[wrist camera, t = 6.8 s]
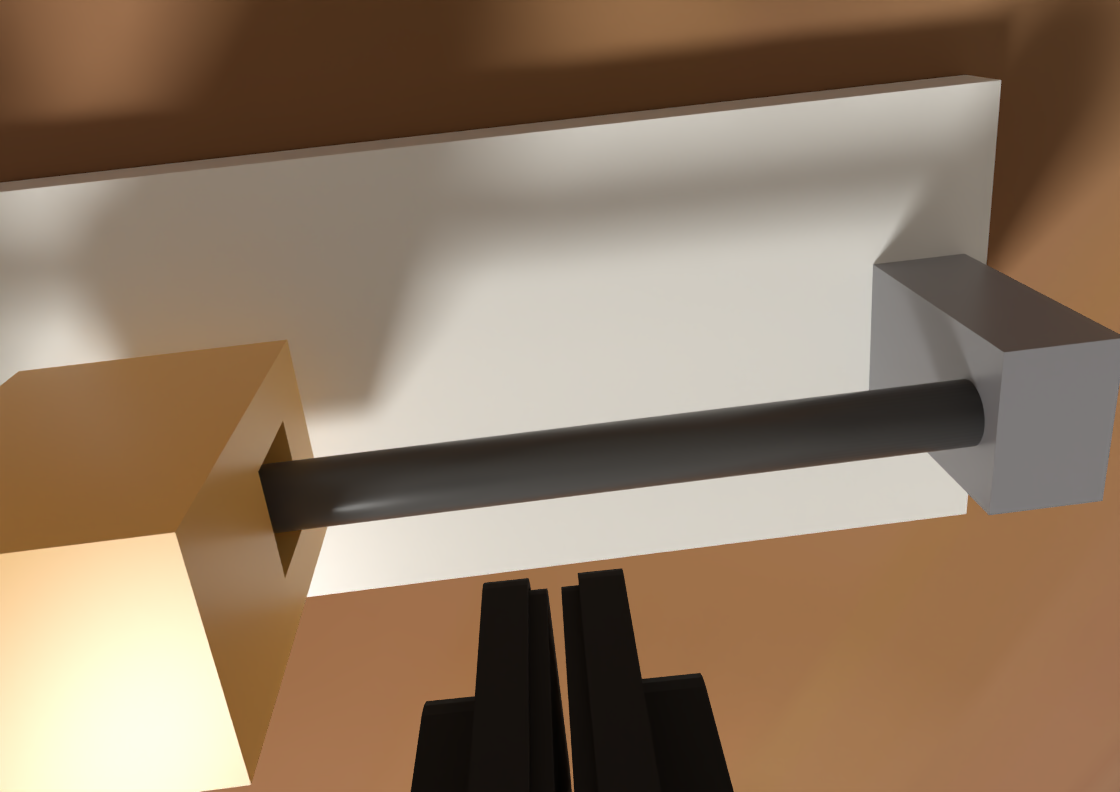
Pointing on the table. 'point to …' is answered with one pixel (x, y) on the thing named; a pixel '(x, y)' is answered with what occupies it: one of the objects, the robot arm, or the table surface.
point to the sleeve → (146, 569)
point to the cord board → (597, 326)
